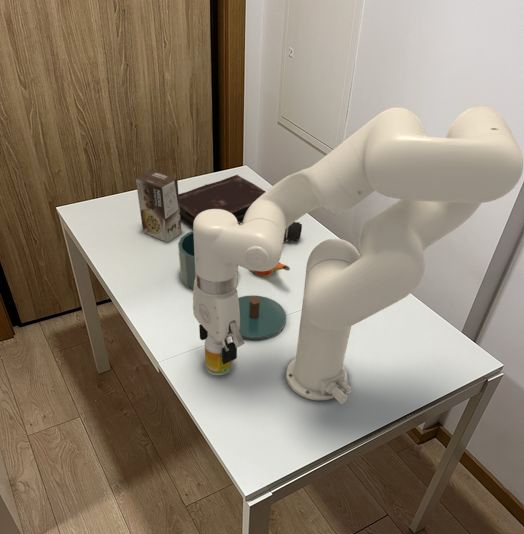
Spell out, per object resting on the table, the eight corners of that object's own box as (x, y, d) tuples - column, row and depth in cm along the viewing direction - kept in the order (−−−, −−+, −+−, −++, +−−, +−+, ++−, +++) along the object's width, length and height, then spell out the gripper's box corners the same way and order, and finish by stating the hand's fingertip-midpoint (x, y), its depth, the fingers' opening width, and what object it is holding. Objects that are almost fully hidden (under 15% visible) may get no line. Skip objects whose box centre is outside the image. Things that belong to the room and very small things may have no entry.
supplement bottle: (221, 379, 109) (221, 345, 102) (200, 369, 111) (198, 334, 104) (236, 364, 112) (236, 329, 105) (215, 354, 114) (214, 319, 107)
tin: (246, 281, 133) (246, 248, 126) (199, 299, 127) (197, 266, 120) (216, 255, 141) (216, 223, 134) (171, 271, 135) (168, 239, 128)
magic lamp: (275, 296, 129) (278, 258, 121) (236, 259, 139) (237, 222, 132) (298, 288, 132) (302, 250, 124) (258, 252, 142) (260, 215, 135)
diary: (167, 210, 156) (166, 195, 152) (235, 187, 168) (235, 172, 164) (204, 239, 146) (203, 223, 142) (273, 212, 158) (274, 196, 154)
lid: (298, 325, 122) (301, 306, 118) (246, 350, 115) (246, 330, 111) (260, 292, 130) (261, 272, 126) (209, 313, 123) (209, 293, 120)
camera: (295, 254, 142) (299, 224, 137) (266, 250, 143) (269, 219, 137) (302, 233, 152) (306, 203, 147) (275, 228, 153) (278, 199, 147)
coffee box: (182, 232, 148) (178, 178, 136) (167, 243, 144) (162, 187, 132) (157, 222, 151) (151, 168, 140) (141, 232, 147) (134, 177, 136)
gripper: (174, 260, 99) (180, 331, 111) (226, 311, 89) (226, 382, 101) (208, 248, 102) (210, 318, 114) (262, 296, 92) (258, 367, 104)
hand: (218, 348), depth 108 cm, fingers open, 7 cm apart
